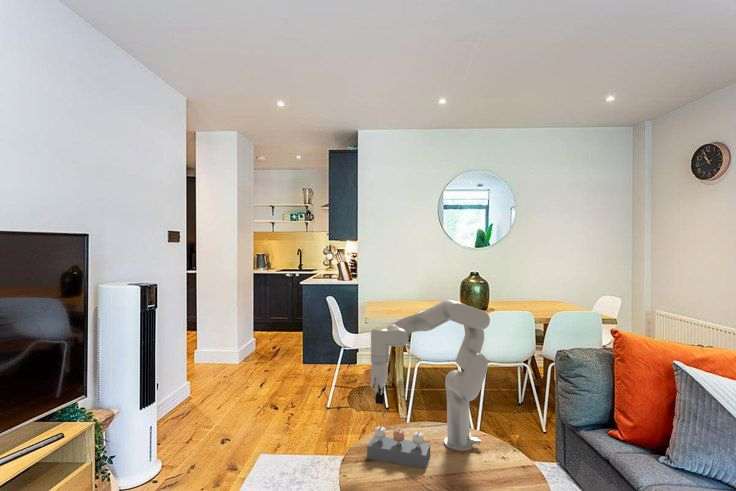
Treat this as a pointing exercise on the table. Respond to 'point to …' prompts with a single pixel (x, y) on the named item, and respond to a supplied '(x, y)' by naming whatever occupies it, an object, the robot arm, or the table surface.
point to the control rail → (399, 452)
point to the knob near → (418, 439)
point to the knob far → (380, 433)
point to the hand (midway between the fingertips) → (380, 402)
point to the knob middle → (398, 436)
